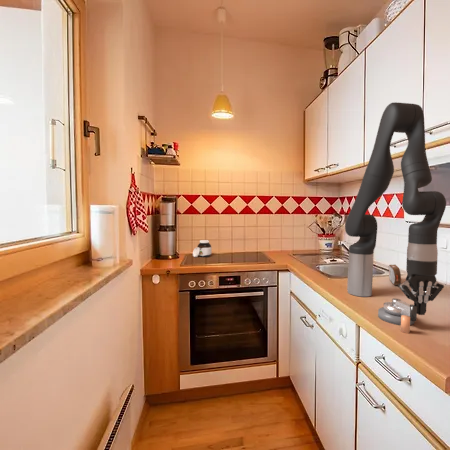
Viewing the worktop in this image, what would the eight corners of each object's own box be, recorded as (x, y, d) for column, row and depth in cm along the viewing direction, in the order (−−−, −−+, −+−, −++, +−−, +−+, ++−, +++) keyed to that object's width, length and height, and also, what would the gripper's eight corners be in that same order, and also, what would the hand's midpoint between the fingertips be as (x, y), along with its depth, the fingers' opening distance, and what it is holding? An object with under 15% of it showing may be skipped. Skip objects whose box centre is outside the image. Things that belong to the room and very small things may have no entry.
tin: (401, 287, 124) (402, 269, 123) (393, 287, 125) (394, 268, 125) (394, 279, 138) (395, 263, 137) (387, 279, 139) (388, 262, 139)
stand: (371, 313, 94) (372, 300, 94) (400, 312, 95) (400, 299, 94) (401, 333, 79) (402, 318, 79) (435, 332, 80) (436, 317, 79)
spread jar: (213, 256, 201) (213, 240, 200) (204, 258, 192) (204, 242, 191) (199, 254, 207) (199, 239, 207) (190, 257, 198) (190, 241, 197)
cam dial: (378, 308, 92) (379, 295, 92) (397, 307, 93) (398, 294, 93) (404, 321, 81) (405, 307, 81) (425, 320, 82) (426, 306, 82)
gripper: (433, 255, 87) (431, 309, 88) (392, 256, 86) (390, 309, 88) (453, 259, 79) (451, 318, 80) (408, 260, 79) (406, 319, 80)
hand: (419, 313), depth 84 cm, fingers closed
